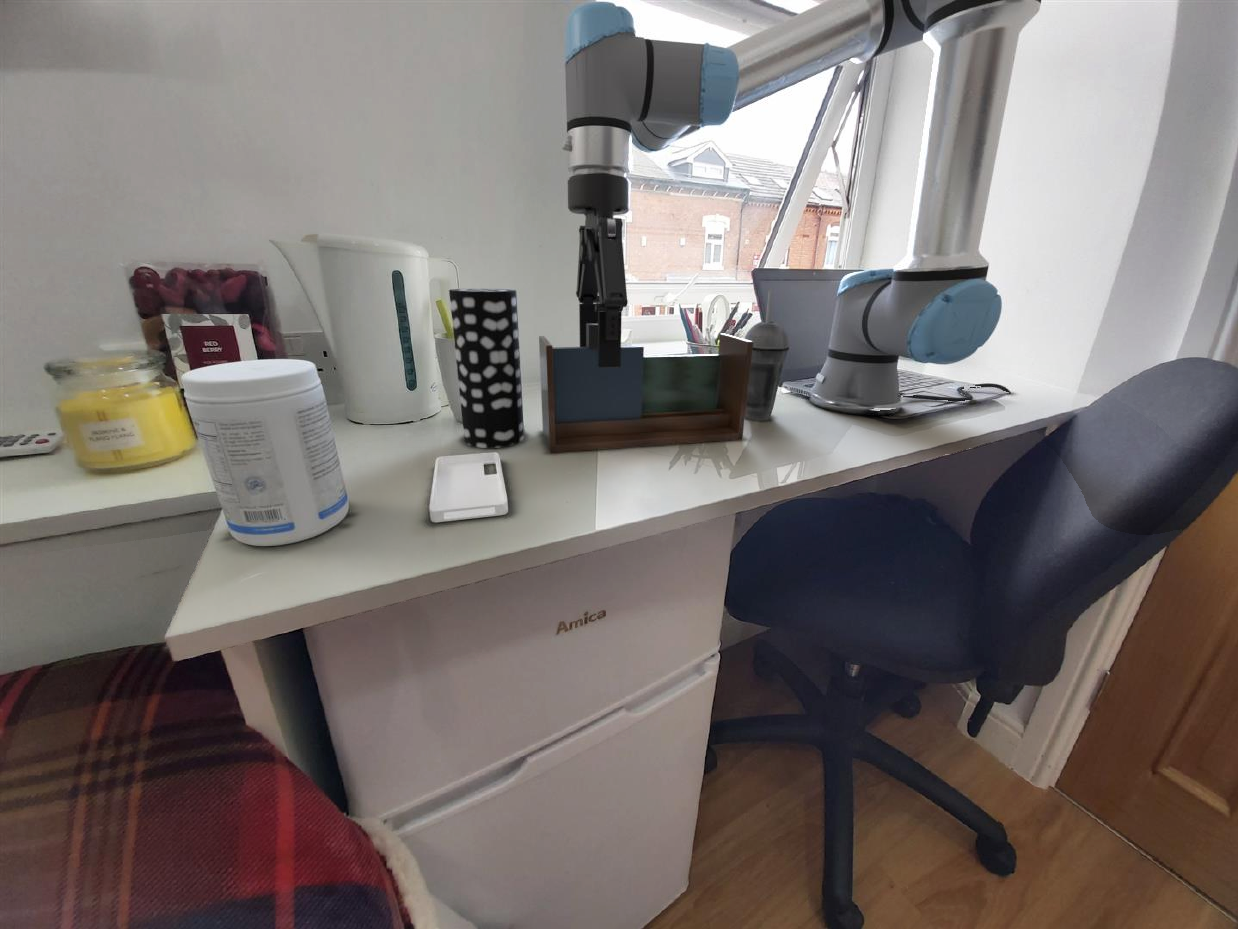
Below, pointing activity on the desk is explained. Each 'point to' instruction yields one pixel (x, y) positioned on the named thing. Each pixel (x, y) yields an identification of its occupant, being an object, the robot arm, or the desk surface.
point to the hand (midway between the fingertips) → (598, 357)
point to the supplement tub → (268, 448)
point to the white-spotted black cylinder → (488, 366)
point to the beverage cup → (765, 366)
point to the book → (596, 383)
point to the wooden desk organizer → (663, 402)
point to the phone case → (467, 488)
